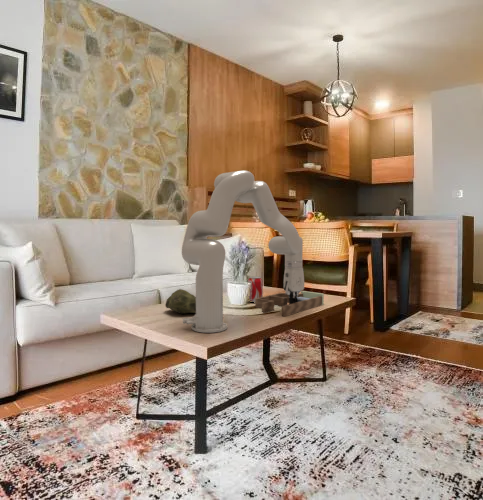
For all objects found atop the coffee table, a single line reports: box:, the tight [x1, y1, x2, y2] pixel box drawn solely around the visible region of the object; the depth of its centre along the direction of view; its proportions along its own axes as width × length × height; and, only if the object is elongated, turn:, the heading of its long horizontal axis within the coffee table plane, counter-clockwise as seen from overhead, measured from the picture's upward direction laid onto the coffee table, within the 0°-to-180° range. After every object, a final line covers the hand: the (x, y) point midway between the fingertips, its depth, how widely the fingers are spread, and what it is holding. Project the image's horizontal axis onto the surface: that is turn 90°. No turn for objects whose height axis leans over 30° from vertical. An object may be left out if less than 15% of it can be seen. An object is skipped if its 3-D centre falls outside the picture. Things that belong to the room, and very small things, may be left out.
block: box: [297, 297, 311, 302], centre depth 176 cm, size 6×6×4 cm
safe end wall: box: [300, 290, 325, 306], centre depth 185 cm, size 1×11×5 cm, turn 49°
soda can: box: [247, 275, 264, 302], centre depth 187 cm, size 7×7×12 cm
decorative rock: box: [165, 288, 196, 315], centre depth 165 cm, size 15×16×10 cm
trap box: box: [254, 292, 323, 317], centre depth 176 cm, size 30×20×4 cm, turn 139°
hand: (293, 306), depth 173 cm, fingers closed
